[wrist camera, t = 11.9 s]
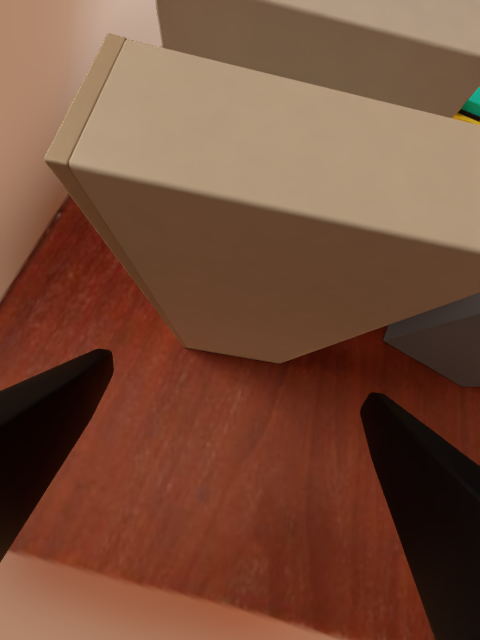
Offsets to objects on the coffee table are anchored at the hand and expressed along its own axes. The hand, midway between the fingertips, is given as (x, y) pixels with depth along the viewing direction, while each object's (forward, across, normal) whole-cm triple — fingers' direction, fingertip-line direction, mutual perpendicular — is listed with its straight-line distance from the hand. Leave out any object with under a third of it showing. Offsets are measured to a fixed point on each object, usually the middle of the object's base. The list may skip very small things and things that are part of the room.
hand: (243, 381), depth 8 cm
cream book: (+8, 0, +3) cm, 9 cm away
